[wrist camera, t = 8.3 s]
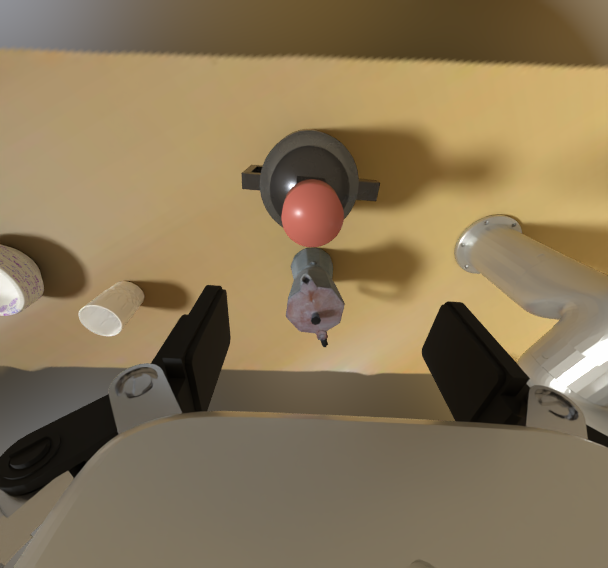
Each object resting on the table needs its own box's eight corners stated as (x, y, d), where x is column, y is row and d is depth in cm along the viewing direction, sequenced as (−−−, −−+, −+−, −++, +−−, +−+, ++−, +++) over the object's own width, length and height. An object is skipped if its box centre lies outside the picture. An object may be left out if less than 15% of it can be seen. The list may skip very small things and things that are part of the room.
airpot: (368, 134, 43) (422, 143, 24) (354, 212, 50) (387, 268, 31) (255, 123, 42) (216, 124, 23) (256, 204, 49) (227, 257, 30)
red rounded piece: (335, 169, 31) (348, 188, 22) (329, 216, 34) (338, 249, 25) (288, 165, 31) (282, 183, 22) (286, 212, 34) (280, 245, 25)
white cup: (105, 277, 57) (71, 304, 49) (141, 278, 58) (114, 305, 49) (117, 306, 62) (88, 335, 53) (151, 307, 62) (127, 336, 53)
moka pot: (324, 227, 52) (335, 278, 35) (343, 289, 59) (360, 355, 42) (279, 242, 53) (269, 297, 36) (303, 300, 61) (304, 368, 44)
